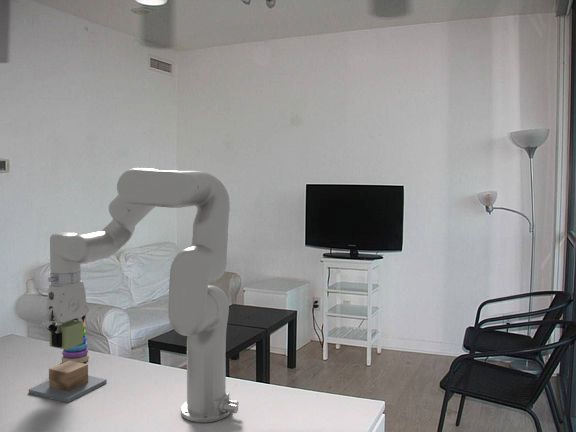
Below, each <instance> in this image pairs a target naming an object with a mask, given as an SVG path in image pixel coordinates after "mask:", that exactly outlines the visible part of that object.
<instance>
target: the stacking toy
mask: <svg viewBox="0 0 576 432" xmlns="http://www.w3.org/2000/svg"><path fill="white" fill-rule="evenodd" d="M84 322H85V320H84V321H83V343H82V344H80V345H77V346H75V347H72V348H69V349H67V350H65V349H62V353H61V354H62V357H61V362H62V363H65V362H67V361H69V360H70V361H74V362H79V363H83V364H85V363H86V362H87V361H88V360H89V359H90V356H89V348H88V342H87V335H86V334H87V331H86V329H85V328H86V324H84Z"/></svg>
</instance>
